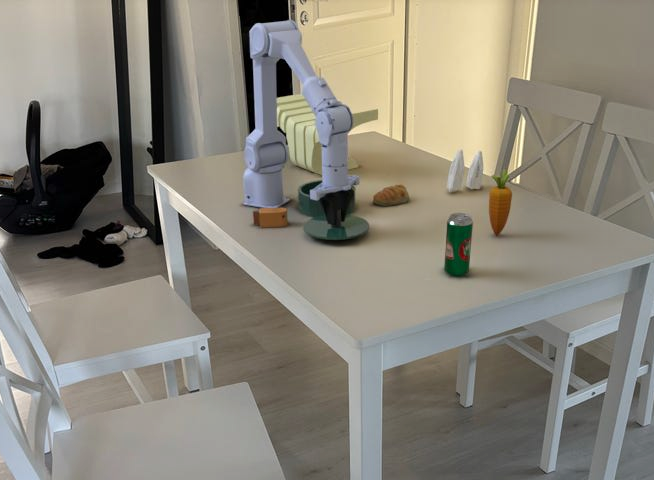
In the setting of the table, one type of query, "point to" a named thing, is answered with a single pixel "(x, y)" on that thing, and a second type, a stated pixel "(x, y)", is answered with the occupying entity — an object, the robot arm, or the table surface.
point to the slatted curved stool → (308, 131)
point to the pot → (313, 206)
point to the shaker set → (458, 172)
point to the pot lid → (336, 227)
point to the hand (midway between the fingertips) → (336, 222)
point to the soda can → (458, 244)
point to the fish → (270, 217)
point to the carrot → (499, 203)
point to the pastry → (391, 195)
